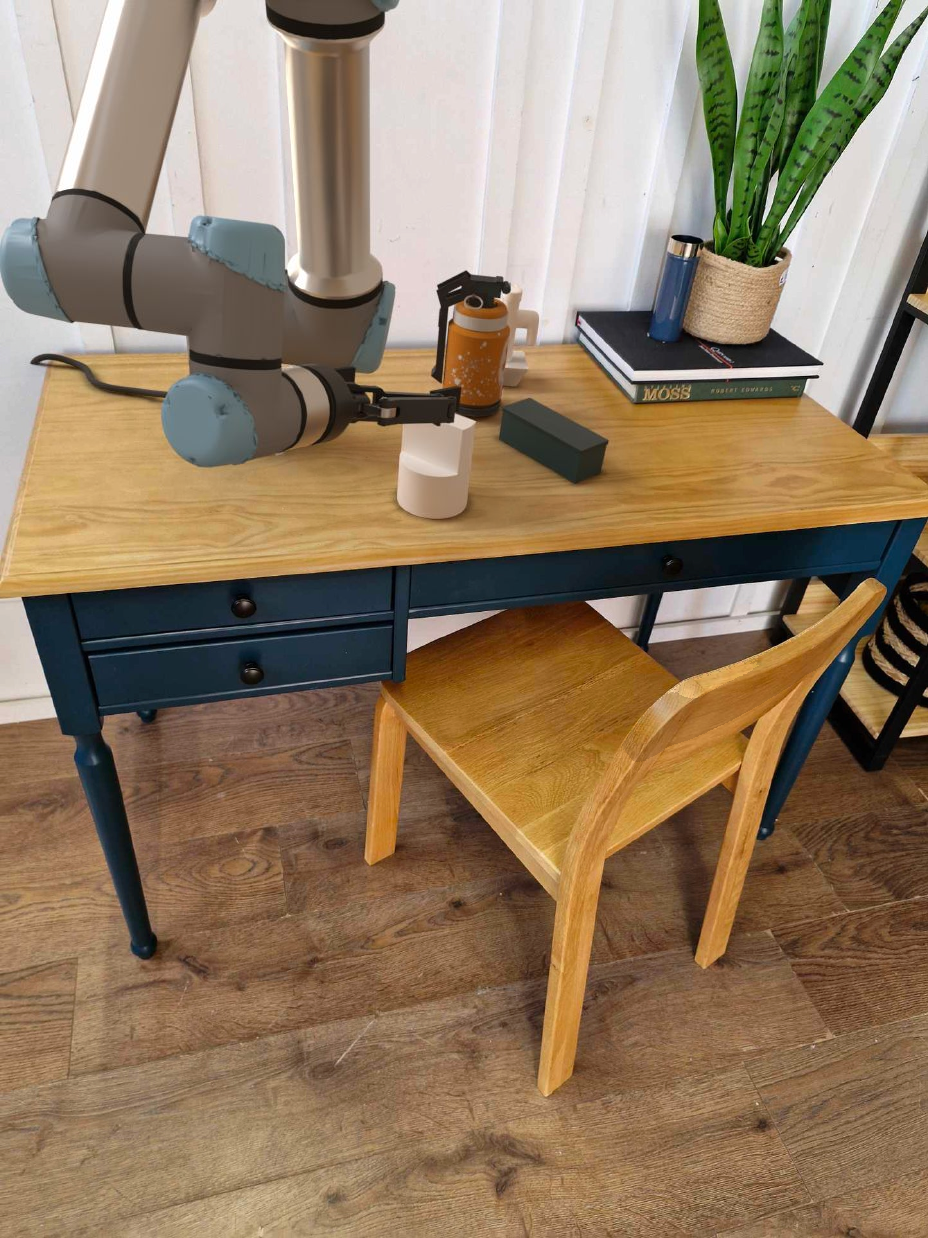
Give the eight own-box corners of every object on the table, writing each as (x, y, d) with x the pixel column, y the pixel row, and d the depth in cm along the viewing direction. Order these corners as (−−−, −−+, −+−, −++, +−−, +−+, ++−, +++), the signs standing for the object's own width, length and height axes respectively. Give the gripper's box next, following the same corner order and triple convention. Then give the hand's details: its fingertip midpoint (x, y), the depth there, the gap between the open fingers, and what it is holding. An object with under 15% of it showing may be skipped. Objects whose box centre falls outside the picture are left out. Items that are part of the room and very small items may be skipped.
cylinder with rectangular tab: (479, 498, 120) (490, 413, 113) (442, 527, 114) (451, 439, 106) (422, 474, 123) (429, 390, 116) (382, 501, 117) (387, 414, 110)
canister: (499, 423, 137) (517, 288, 125) (425, 415, 137) (436, 280, 125) (499, 397, 144) (516, 267, 132) (429, 390, 144) (439, 259, 132)
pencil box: (497, 438, 133) (501, 406, 130) (524, 429, 137) (529, 397, 134) (574, 484, 125) (581, 450, 122) (602, 472, 129) (609, 440, 125)
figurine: (532, 391, 147) (547, 298, 138) (473, 387, 146) (484, 293, 137) (527, 372, 153) (541, 281, 144) (470, 368, 152) (481, 276, 143)
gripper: (192, 422, 93) (309, 402, 111) (412, 471, 84) (499, 441, 103) (193, 345, 90) (312, 338, 108) (420, 388, 82) (508, 372, 100)
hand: (403, 388), depth 106 cm, fingers open, 13 cm apart
